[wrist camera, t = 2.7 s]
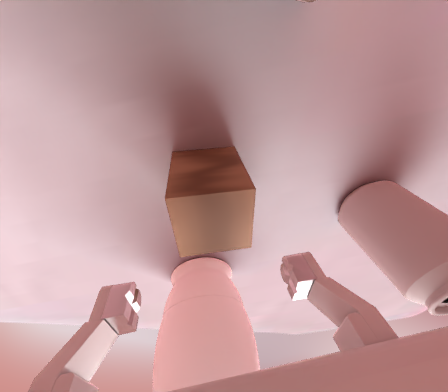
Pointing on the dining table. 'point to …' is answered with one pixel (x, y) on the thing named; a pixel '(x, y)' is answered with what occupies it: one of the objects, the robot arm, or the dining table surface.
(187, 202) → the walnut block
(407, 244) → the can
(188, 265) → the jar
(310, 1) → the laptop
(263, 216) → the dining table surface
